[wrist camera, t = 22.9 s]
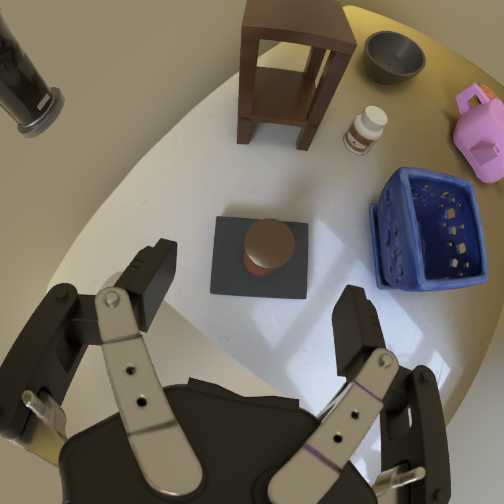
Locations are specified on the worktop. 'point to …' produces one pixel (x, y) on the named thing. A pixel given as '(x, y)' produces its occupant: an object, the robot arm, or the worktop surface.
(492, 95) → the saucer
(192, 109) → the worktop surface
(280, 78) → the stand
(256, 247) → the spice jar
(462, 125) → the teapot
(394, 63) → the bowl
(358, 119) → the pill bottle
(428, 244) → the flower pot
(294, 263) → the pad
